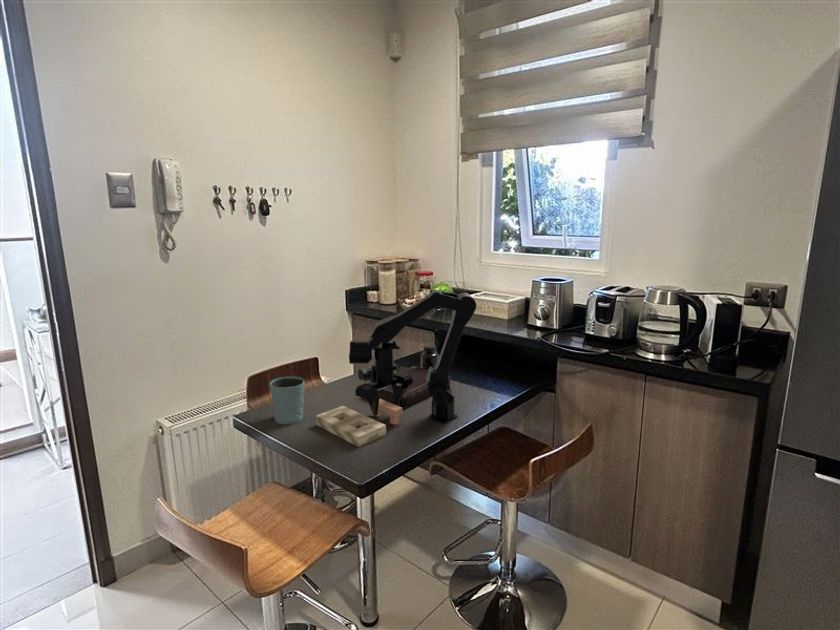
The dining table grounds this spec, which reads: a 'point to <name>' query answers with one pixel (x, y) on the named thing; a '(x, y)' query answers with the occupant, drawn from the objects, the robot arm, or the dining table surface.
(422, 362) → the supplement bottle
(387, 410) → the pink rectangular block
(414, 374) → the diary
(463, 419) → the dining table surface
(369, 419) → the cream two-hole slab
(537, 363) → the dining table surface
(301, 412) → the teal cup
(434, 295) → the robot arm
